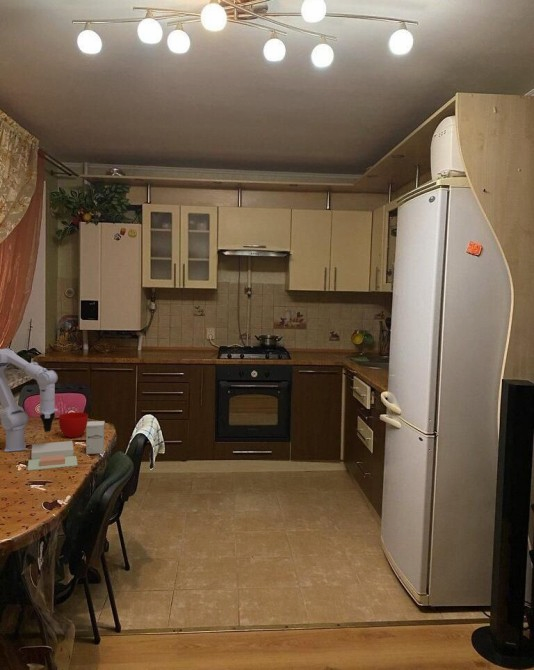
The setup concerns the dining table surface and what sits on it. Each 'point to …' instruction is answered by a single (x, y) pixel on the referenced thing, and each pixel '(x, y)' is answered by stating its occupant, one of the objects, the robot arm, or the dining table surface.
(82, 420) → the ceramic cup
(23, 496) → the dining table surface
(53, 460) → the tile
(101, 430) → the supplement box
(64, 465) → the mat
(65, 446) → the deck
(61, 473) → the dining table surface
